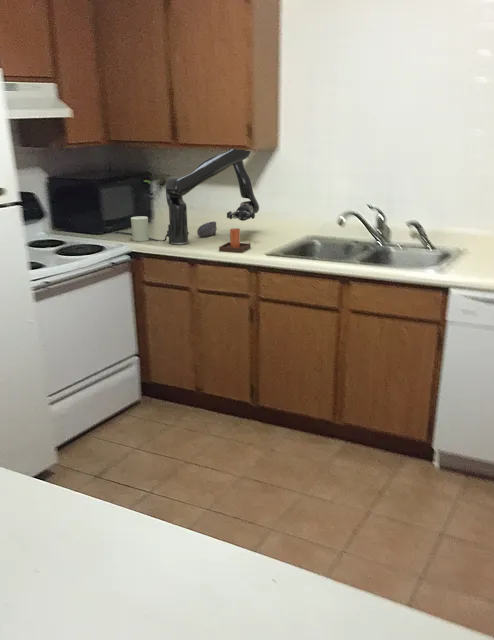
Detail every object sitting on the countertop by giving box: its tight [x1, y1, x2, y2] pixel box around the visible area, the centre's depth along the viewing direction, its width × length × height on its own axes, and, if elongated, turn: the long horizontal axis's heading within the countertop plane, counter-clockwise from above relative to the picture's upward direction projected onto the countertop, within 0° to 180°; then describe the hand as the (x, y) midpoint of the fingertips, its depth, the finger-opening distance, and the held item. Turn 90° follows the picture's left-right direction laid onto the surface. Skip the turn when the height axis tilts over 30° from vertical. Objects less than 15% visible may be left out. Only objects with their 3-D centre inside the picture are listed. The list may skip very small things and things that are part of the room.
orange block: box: [229, 228, 241, 248], centre depth 331 cm, size 5×5×9 cm
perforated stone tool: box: [196, 221, 218, 238], centre depth 364 cm, size 15×5×7 cm, turn 139°
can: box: [130, 215, 150, 242], centre depth 357 cm, size 9×9×12 cm
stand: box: [218, 241, 252, 254], centre depth 333 cm, size 12×12×2 cm
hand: (238, 217), depth 340 cm, fingers open, 8 cm apart
